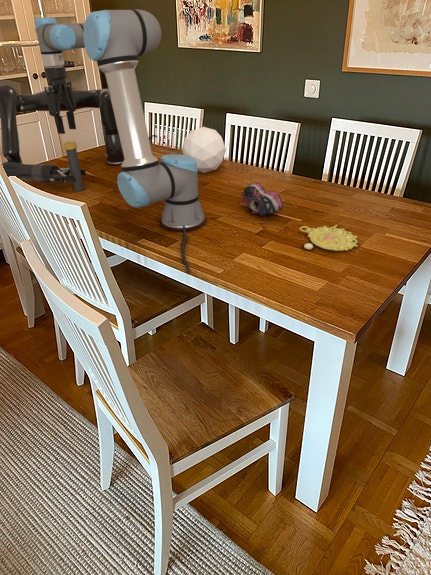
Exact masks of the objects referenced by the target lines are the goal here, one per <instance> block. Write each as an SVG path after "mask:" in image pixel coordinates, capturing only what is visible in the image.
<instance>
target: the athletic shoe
mask: <svg viewBox="0 0 431 575" xmlns="http://www.w3.org/2000/svg"><path fill="white" fill-rule="evenodd" d="M241 197H242V199H243V201H238V203H239V204H241V205H245V206H246V207H247V208H248V210H249V211H250V210H251V213H252V214H255V215H260V217H266V216H267V215H270V214H274V213H275V212H279V211H282V210H283V209H284V205H283V201H282V198H281V196H280V195H279V194H278V192H277V191H274V190H269V191H267V190H266V189H265V187H264V186H263V185H262V184H261V183H258V182H251V183H249V184H247V186H246V187H245V188H244V190H243V191H242V192H241Z"/></svg>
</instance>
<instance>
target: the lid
mask: <svg viewBox="0 0 431 575" xmlns="http://www.w3.org/2000/svg"><path fill="white" fill-rule="evenodd" d="M63 148H64V150H65V151H66V150H72V149H76V150H77V148H78V146H77V143H76V141H67V142H64V143H63Z"/></svg>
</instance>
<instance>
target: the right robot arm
mask: <svg viewBox="0 0 431 575" xmlns="http://www.w3.org/2000/svg"><path fill="white" fill-rule="evenodd" d="M33 22H34V30H35V35H36V38H37V42H38V48H39V51H40V56H41V57H40V58H41V62H42V66H43V67H44V69H43V71H44V75H45V76H44V77H45V79H47V80H48V86H44V87H43V88H44V89H43V90H44V91H45V92H46V96H47V102H48V109H49V111H48V114H49V116H51V117H53V118H54V123H55V127H56V131H57V134H58V135H66V131H65V130H66V129H65V126H64V121H63V116H62V115H61V111H60V97H62V99H63V102H64V104H65V106H66V109H67V111H65V113H66V118H67V123H68V129H69V130H77V126H76V121H75V118H76V117H75V114H74V112H76V111H77V110H76V104H75V100H74V96H73V92H72V90H73V86H72V82H71V81H67V80H66V79H67V77H68V76H67V70H66V69H67V68H66V66H64V65H65V60H64V55H63V51H69V50H75V49H85V52H86V54H87V56H88V58H89V59H90V60H91V61H94V62H96V64H97V68H98V70H99V71H101V72H102V73H103V74H104V77H105V80H106V84H107V89H109V94H110V98H111V102H112V107H113V111H114V115H115V120H116V124H117V129H118V133H119V137H120V142H121V146H122V150H123V155H124V161H123V163H122V164H120V168H121V172H119V173H118V174H117V177H116V178H117V180H116V183H117V187H118V190H119V192H120V194H121V196H122V198H123V200H124V201H125V202H126V203H127V204H128V205H129V206H130V207H132V208H136V209H139V208H143V207H148V206H150V205H154V204H157V203H160V202H164V204H163V209H162V213H161V219H160V220H161V225H162V227H163V228H165V229H167V230H170V231H175V232H176V231H177V232H182V233H183V240H182V243H181V258H182V261H183V263H184V265H185V268H186V273H187V275H190V274H191V269H190V265H189V263H188V262H187V259H186V256H185V245H186V242H187V231H192V230H195V229H198V228H201V227H202V226H203V225H204V224H205V223H206V215H205V212H204V210H203V208H202V204H201V202H200V196H199V176H198V173H199V171H198V170H197V163H196V160H195V159H194V158H192V157H190V156H186V155H183V154H178V153H177V154H175V153H174V154H172V153H171V154H165V155H162V156H161V157H160V163H159V159H158V158H157V157H156V156H154V155H153V153H152V148H151V142H150V138H149V137H150V136H149V133H148V129H147V128H148V127H147V123H146V119H145V114H144V109H143V108H144V107H143V103H142V99H141V94H140V89H139V84H138V79H137V73H136V67H137V66H138V64H139V58H138V57H141V56H147V55H149V54H152V53H153V52H154V51H155V50H157V48H158V47H159V45H160V43H161V40H162V29H161V28H162V27H161V25H160V22H159V20H158V19H157V18H156V16H154V15H153V14H152V13H151V12H150V11H149V12H148V11H147V10H144V9H138V8H137V9H103V10H97V11H91V12H90V13H89V14H88V15H87V16H86V18H85V21H84V22H81V23H80V22H78V23H57V19H56V18H55V17H53V16H51V17H36V18H34V20H33Z"/></svg>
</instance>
